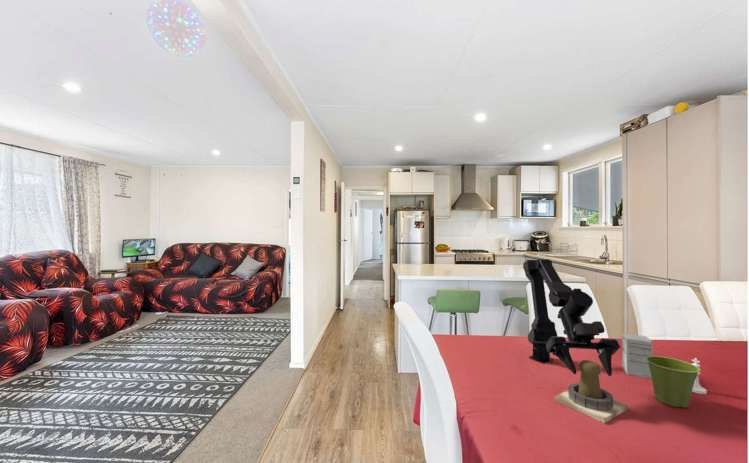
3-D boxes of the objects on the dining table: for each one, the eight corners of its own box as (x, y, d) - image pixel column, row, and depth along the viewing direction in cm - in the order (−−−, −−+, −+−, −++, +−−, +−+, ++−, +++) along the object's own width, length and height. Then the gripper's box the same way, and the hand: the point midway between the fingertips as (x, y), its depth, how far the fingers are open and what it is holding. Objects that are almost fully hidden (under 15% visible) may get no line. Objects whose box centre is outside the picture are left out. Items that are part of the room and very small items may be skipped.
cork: (608, 404, 89) (607, 364, 90) (591, 407, 88) (591, 367, 88) (588, 394, 95) (588, 356, 95) (572, 396, 94) (572, 359, 94)
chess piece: (703, 395, 98) (703, 362, 98) (682, 388, 102) (682, 357, 102) (709, 391, 100) (709, 359, 100) (688, 385, 104) (688, 354, 104)
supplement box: (621, 366, 118) (621, 332, 118) (647, 371, 115) (647, 335, 115) (625, 374, 112) (625, 338, 112) (653, 379, 108) (653, 341, 108)
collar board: (578, 389, 100) (578, 378, 100) (627, 409, 89) (627, 396, 89) (554, 400, 94) (554, 387, 94) (604, 423, 83) (604, 408, 83)
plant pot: (707, 417, 85) (707, 375, 86) (649, 405, 92) (649, 365, 92) (693, 398, 95) (693, 360, 96) (641, 388, 102) (641, 352, 102)
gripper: (549, 309, 97) (567, 360, 86) (616, 311, 95) (643, 364, 83) (539, 328, 104) (554, 376, 93) (600, 330, 102) (623, 380, 91)
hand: (592, 374), depth 90 cm, fingers open, 9 cm apart
